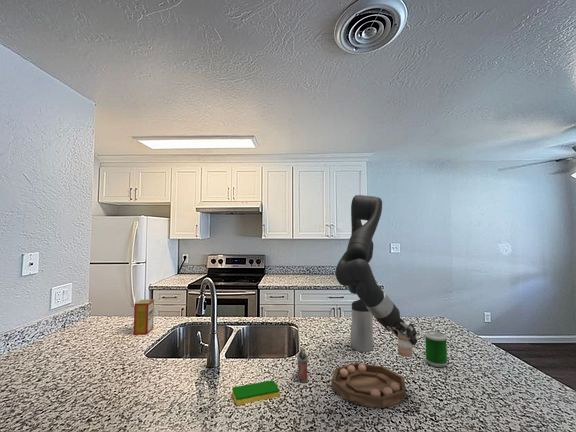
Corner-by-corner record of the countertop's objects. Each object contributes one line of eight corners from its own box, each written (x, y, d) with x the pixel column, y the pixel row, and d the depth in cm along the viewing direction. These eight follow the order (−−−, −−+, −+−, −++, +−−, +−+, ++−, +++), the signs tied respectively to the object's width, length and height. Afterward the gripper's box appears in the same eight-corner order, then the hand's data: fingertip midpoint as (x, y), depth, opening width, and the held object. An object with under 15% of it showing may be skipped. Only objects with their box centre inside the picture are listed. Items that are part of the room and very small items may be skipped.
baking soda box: (147, 334, 152) (147, 302, 153) (133, 335, 152) (134, 302, 152) (153, 328, 162) (154, 298, 163) (140, 329, 161) (141, 298, 162)
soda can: (449, 369, 114) (448, 337, 115) (428, 367, 116) (427, 335, 117) (443, 361, 122) (442, 330, 122) (423, 359, 123) (423, 329, 124)
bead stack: (395, 353, 99) (394, 322, 100) (404, 350, 101) (403, 320, 102) (406, 358, 95) (405, 325, 96) (415, 355, 98) (414, 324, 98)
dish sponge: (280, 397, 95) (280, 389, 95) (236, 406, 90) (236, 398, 90) (272, 387, 101) (272, 379, 102) (232, 394, 96) (232, 387, 97)
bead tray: (320, 380, 105) (320, 371, 105) (370, 367, 116) (370, 359, 116) (365, 416, 85) (365, 405, 85) (421, 396, 95) (421, 386, 95)
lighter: (296, 372, 111) (296, 345, 112) (305, 372, 111) (305, 344, 112) (299, 383, 103) (299, 353, 103) (309, 383, 103) (309, 353, 104)
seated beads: (336, 375, 107) (336, 366, 107) (360, 369, 112) (360, 360, 112) (377, 404, 89) (377, 394, 89) (404, 395, 94) (404, 385, 94)
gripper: (406, 302, 90) (433, 337, 95) (371, 294, 102) (397, 325, 107) (393, 323, 87) (422, 358, 92) (359, 312, 100) (386, 343, 105)
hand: (408, 340), depth 100 cm, fingers closed on bead stack, 4 cm apart
